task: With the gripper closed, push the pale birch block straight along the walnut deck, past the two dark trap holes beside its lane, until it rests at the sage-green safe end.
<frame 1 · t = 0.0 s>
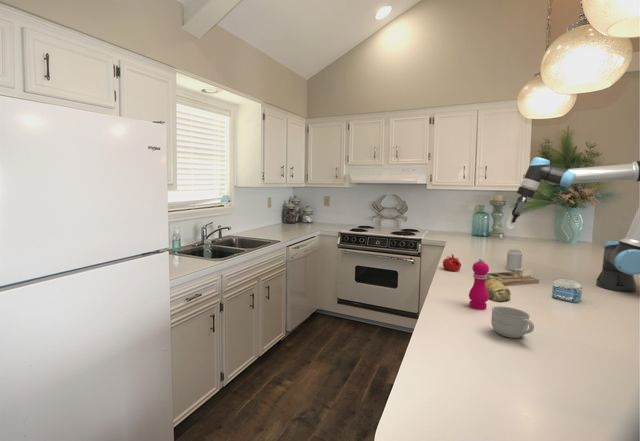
hand: (509, 227, 177), 28 cm above the worktop, tool tilted 20°, fingers open, 13 cm apart
birch block: (522, 277, 176), point 2 cm above the worktop, touching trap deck
pastry: (494, 297, 151), on the worktop
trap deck: (506, 280, 178), on the worktop
pomegranate: (451, 270, 198), on the worktop
can: (513, 270, 201), on the worktop
teacup: (511, 336, 111), on the worktop
pepper mill: (477, 307, 137), on the worktop
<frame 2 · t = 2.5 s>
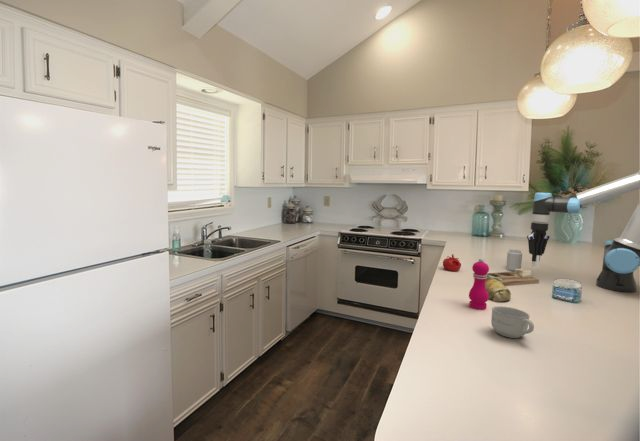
hand: (534, 267, 179), 7 cm above the worktop, tool pointing down, fingers closed
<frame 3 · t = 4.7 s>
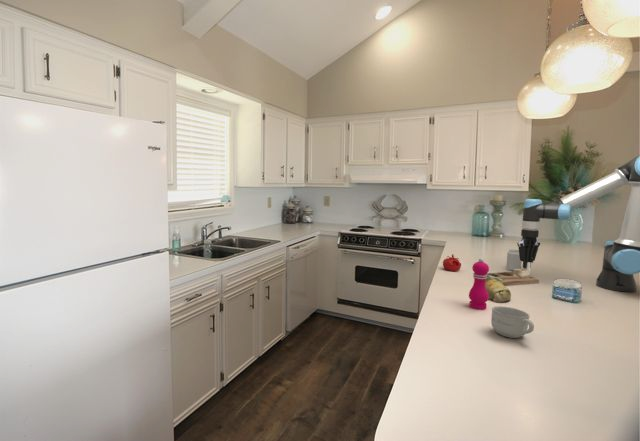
hand: (525, 274, 177), 4 cm above the worktop, tool pointing down, fingers closed
birch block: (521, 277, 176), point 2 cm above the worktop, touching gripper
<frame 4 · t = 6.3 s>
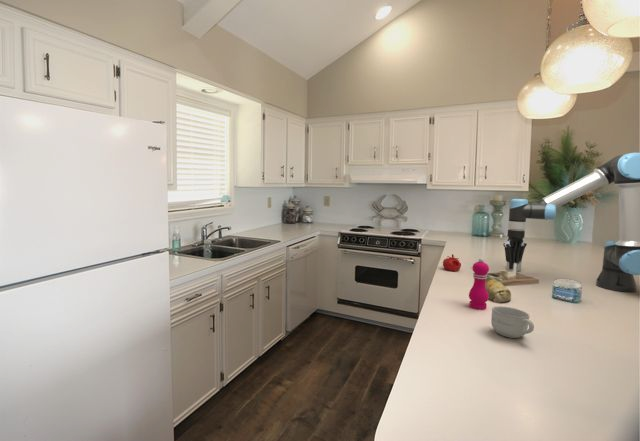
hand: (512, 275, 174), 4 cm above the worktop, tool pointing down, fingers closed
birch block: (507, 278, 173), point 2 cm above the worktop, touching gripper
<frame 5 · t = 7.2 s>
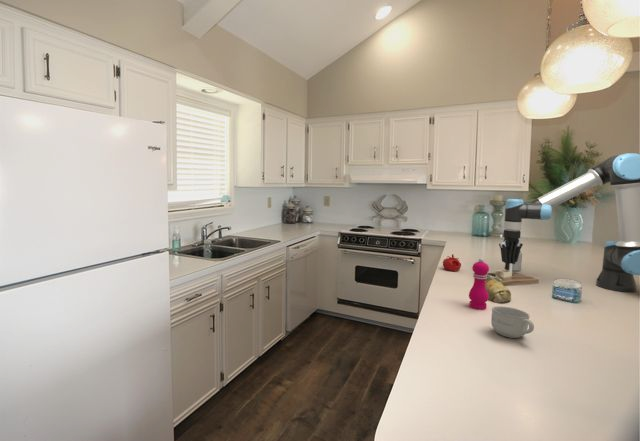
hand: (508, 275, 174), 3 cm above the worktop, tool pointing down, fingers closed
birch block: (503, 279, 173), point 2 cm above the worktop, touching gripper, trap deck
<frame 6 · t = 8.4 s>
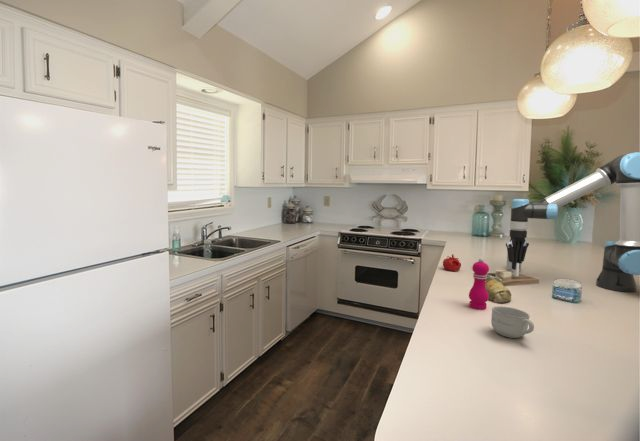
hand: (515, 275, 174), 4 cm above the worktop, tool pointing down, fingers closed
birch block: (503, 279, 173), point 2 cm above the worktop, touching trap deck
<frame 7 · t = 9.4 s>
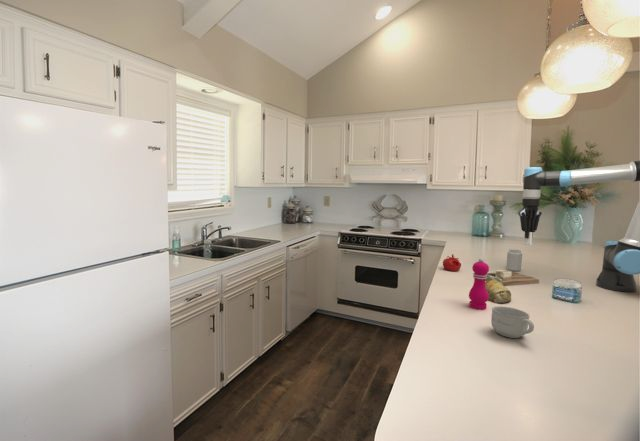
hand: (528, 244, 174), 19 cm above the worktop, tool pointing down, fingers closed
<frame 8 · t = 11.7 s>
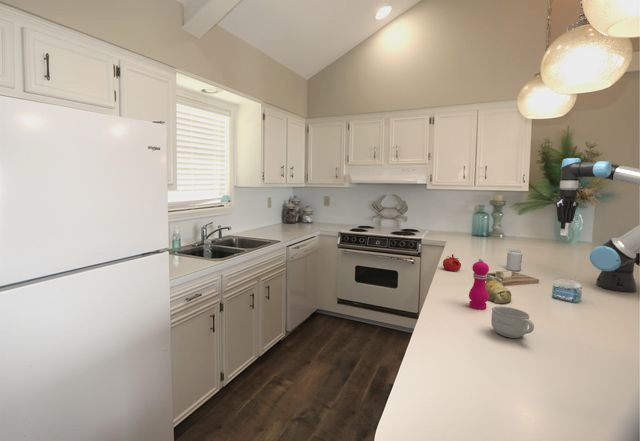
hand: (563, 235, 176), 24 cm above the worktop, tool pointing down, fingers closed
at the end: birch block inside the target area (0.6 cm from its centre), point 2.0 cm above the worktop; birch block tilted 0° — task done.
